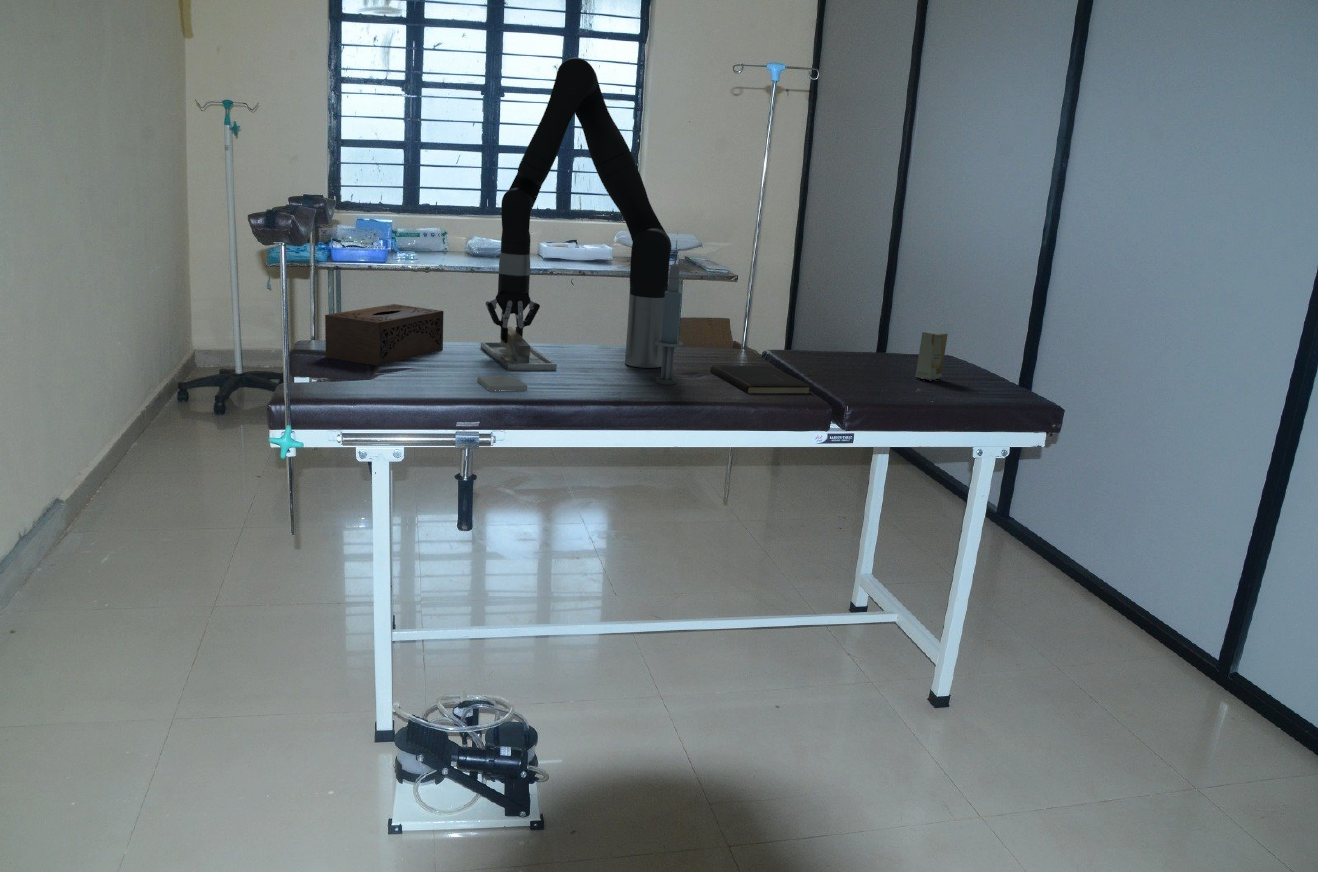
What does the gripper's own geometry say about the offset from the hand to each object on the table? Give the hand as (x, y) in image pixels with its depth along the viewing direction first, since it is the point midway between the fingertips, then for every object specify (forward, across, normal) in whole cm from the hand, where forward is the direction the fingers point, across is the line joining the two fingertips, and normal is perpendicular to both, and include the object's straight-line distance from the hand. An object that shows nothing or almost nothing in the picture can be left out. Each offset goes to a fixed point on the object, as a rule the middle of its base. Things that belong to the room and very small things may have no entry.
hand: (511, 342), depth 252 cm
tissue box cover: (+4, +30, -2) cm, 30 cm away
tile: (+3, +11, +29) cm, 31 cm away
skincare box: (+2, -101, +33) cm, 107 cm away
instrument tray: (+3, 0, +5) cm, 6 cm away
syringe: (+3, -28, +33) cm, 43 cm away
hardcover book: (+3, -52, +34) cm, 62 cm away
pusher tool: (+2, 0, +4) cm, 4 cm away
